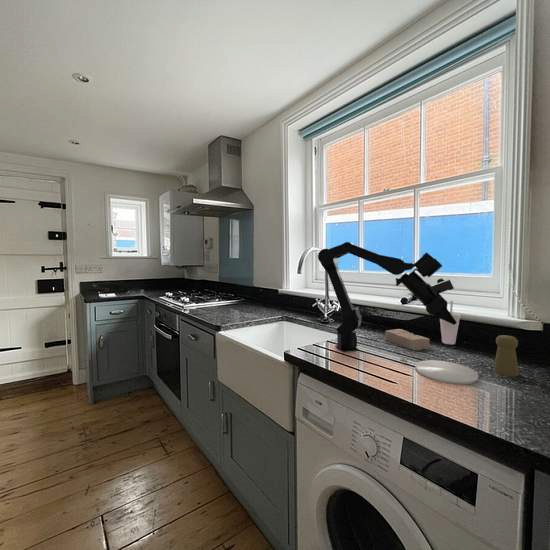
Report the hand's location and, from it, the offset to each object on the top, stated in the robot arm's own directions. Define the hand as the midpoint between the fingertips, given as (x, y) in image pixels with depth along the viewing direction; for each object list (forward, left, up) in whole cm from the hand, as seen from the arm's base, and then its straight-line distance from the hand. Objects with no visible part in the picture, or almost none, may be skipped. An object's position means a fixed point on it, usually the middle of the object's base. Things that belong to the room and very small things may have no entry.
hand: (454, 321), depth 96 cm
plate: (-11, -8, -13) cm, 19 cm away
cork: (+7, -12, -13) cm, 19 cm away
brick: (0, +22, -14) cm, 26 cm away
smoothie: (-1, +1, -7) cm, 7 cm away
